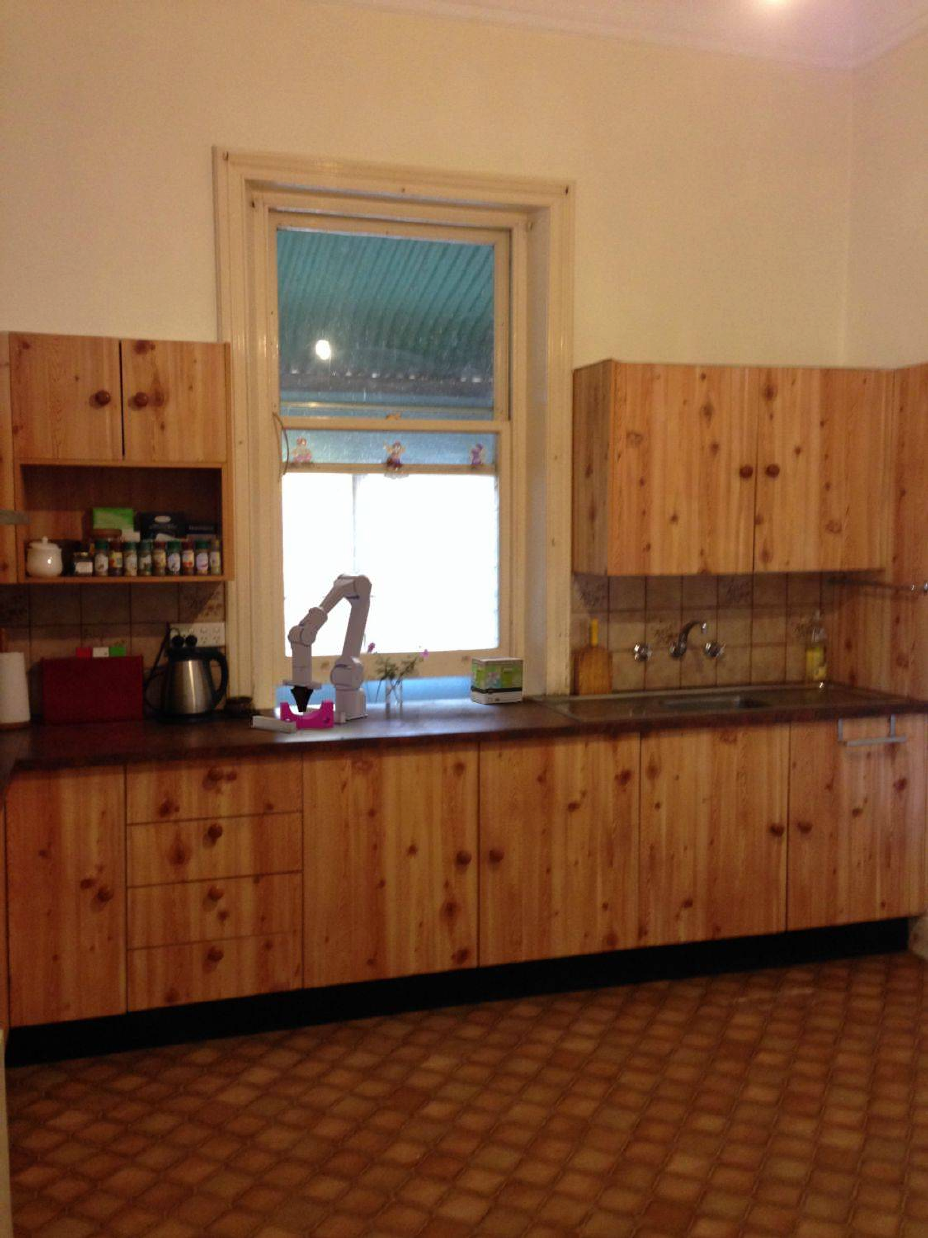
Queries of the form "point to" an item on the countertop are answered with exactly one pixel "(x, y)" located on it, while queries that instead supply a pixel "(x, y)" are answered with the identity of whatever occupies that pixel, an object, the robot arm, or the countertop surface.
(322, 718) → the toy block
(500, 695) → the tea box
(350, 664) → the robot arm
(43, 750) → the countertop surface
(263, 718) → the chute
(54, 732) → the countertop surface
